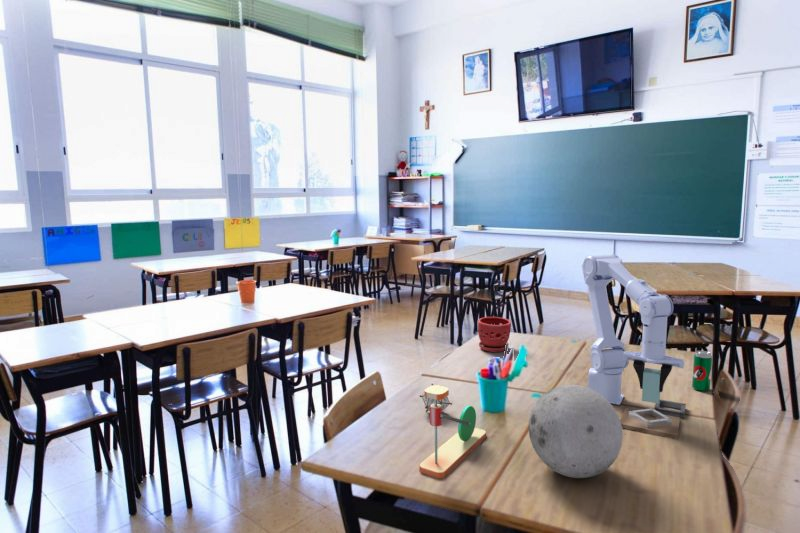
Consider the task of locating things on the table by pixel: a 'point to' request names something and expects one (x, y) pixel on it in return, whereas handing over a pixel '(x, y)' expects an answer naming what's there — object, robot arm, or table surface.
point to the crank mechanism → (457, 444)
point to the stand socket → (672, 405)
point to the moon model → (575, 431)
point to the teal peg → (651, 385)
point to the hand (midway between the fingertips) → (651, 389)
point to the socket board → (654, 430)
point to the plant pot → (493, 333)
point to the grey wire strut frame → (428, 402)
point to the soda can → (702, 371)
